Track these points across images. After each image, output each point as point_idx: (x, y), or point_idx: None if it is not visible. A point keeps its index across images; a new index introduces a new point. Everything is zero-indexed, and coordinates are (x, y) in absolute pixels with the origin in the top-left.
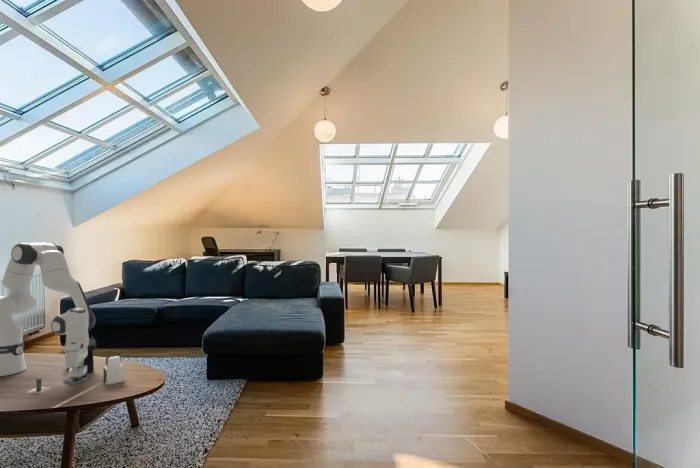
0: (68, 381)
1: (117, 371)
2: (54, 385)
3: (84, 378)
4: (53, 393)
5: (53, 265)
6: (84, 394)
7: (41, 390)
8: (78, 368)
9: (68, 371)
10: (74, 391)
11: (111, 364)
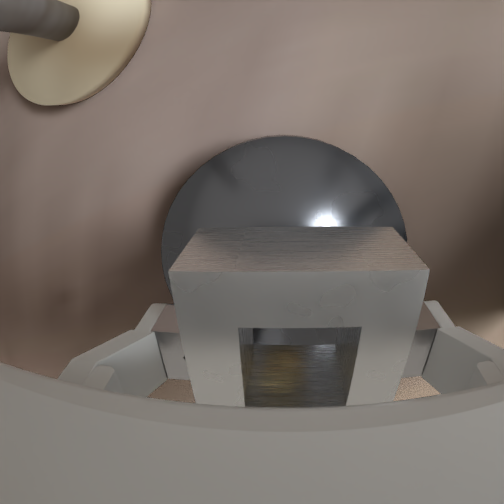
0: (212, 211)
1: None
2: (243, 59)
3: (272, 339)
4: (33, 164)
5: None
6: (31, 354)
7: (51, 51)
8: (350, 345)
9: (177, 261)
10: (59, 299)
11: None
